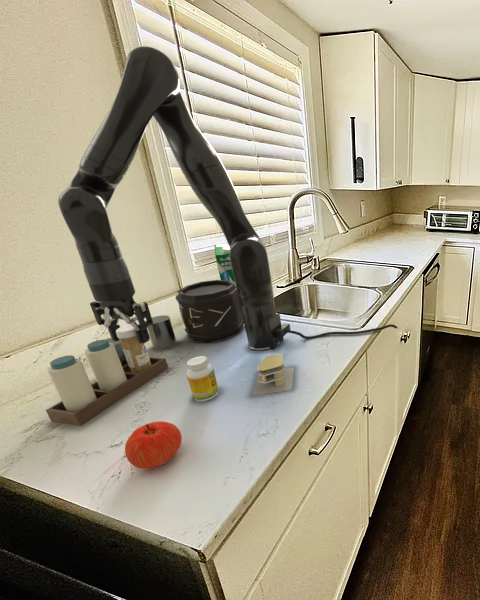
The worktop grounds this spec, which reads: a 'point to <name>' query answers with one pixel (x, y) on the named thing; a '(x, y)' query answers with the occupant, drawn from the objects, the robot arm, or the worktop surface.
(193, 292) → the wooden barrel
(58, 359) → the off-white bottles
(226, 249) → the milk carton
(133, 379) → the spice rack
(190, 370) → the supplement bottle
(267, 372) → the stacked layers on plate
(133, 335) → the sprinkles bottle
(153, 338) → the grey tins
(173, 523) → the worktop surface
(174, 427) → the apple
